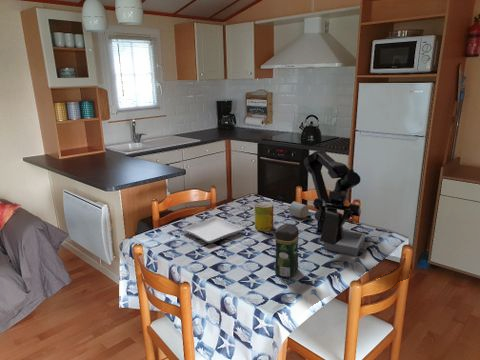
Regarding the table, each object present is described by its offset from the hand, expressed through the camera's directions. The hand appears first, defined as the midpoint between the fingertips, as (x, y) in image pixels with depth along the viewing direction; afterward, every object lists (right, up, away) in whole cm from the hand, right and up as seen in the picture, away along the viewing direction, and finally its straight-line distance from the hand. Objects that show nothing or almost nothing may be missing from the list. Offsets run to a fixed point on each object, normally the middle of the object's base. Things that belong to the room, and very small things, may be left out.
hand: (331, 225), depth 151 cm
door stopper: (+1, -6, +3) cm, 7 cm away
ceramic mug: (-5, -1, +48) cm, 49 cm away
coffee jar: (-19, -17, -9) cm, 27 cm away
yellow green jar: (-25, -5, +34) cm, 42 cm away
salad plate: (-50, -8, +28) cm, 58 cm away
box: (+9, -10, +13) cm, 18 cm away
